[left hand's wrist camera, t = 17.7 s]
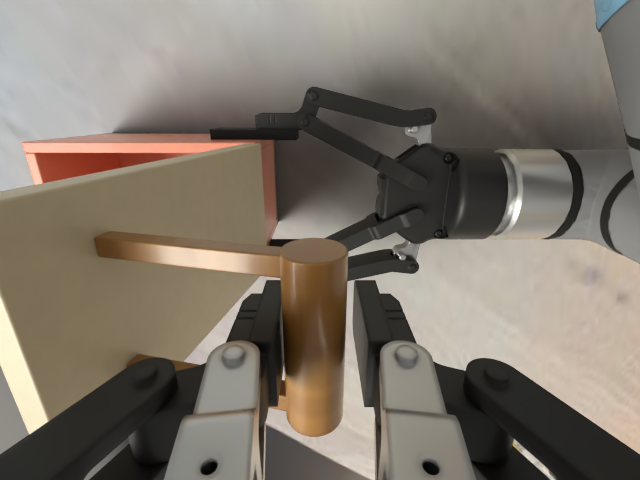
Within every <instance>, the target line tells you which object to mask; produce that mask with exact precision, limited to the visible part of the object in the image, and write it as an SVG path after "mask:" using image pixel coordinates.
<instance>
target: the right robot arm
mask: <svg viewBox="0 0 640 480" xmlns="http://www.w3.org/2000/svg"><path fill="white" fill-rule="evenodd" d="M594 3H595V11H596V18H597V20H596V28H597V30H598V31H599V32H600V31H601V34H602V38H603V42H604V47H605V51H606V55H607V59H608V63H609V67H610V71H611V75H612V79H613V83H614V87H615V91H616V95H617V99H618V103H619V107H620V111H621V115H622V119H623V123H624V127H625V129H624V131H625V135H626V139H627V145H628V149H585V150H559V149H499V150H496V151H493V150H491V149H442V148H438V147H437V146H435V145H433V144H431V124H432V123H433V122H434V121H435V120H436V116H437V115H436V111H435V110H434V109H432V108H417V109H409V110H401V109H398V108H394V107H390V106H386V105H382V104H379V103H375V102H371V101H367V100H363V99H359V98H356V97H352V96H348V95H344V94H340V93H337V92H333V91H329V90H325V89H321V88H317V87H311V88H309V89H308V90H307V92H306V95H305V99H304V102H303V105H302V107H301V109H300V110H299V111H298V112H296V113H261V114H258V115H256V116H255V120H256V128H216V129H210V137H211V140H297V139H298V138H299V133H298V130H304V131H306V132H307V133H309V134H311V135H313V136H315V137H317V138H319V139H321V140H322V141H324V142H326V143H328V144H330V145H332V146H334V147H336V148H337V149H339V150H341V151H343V152H345V153H347V154H349V155H351V156H352V157H354V158H356V159H358V160H360V161H362V162H364V163H366V164H367V165H369V166H371V167H373V168H374V169H376V170H378V171H380V174H378V177H377V185H378V190H379V194H378V197H377V200H376V212H374V213H372V214H370V215H368V216H367V217H366V218H365V219H364V220H362V221H360V222H358V223H355V224H353V225H351V226H349V227H347V228H345V229H343V230H341V231H339V232H337V233H335V234H332V235H330V236H328V237H326V238H324V239H330V240H334V241H337V242H339V243H342V244H343V245H344V246H346V248H347V250H348V251H351V250H353V249H355V248H357V247H359V246H361V245H363V244H366V243H368V242H370V241H372V240H375V239H377V240H378V239H382V238H384V237H386V236H388V235H390V234H392V233H395V232H396V233H398V234H399V235H400V236H402V237H403V238H405V239H406V241H405V242H404V243H403V244H399V245H395V246H394V247H393V249H384V250H378V251H374V252H369V253H364V254H360V255H355V256H350V257H348V273H347V281H350V280H355V279H360V278H364V277H369V276H374V275H379V274H383V273H388V272H400V273H410V274H412V273H415V272H417V271H418V269H419V265H418V263H417V261H416V258H417V254H418V249H419V245H420V244H421V243H424V242H426V241H428V240H431V239H485V238H487V237H490V238H492V239H582V240H588V241H592V242H595V243H597V244H600V245H602V246H604V247H606V248H608V249H610V250H612V251H614V252H616V253H618V254H621V255H623V256H625V257H627V258H629V259H631V260H633V261H635V262H637V263H639V264H640V0H594ZM319 107H322V108H326V109H330V110H334V111H338V112H342V113H346V114H350V115H353V116H357V117H361V118H365V119H369V120H373V121H377V122H381V123H385V124H388V125H394V126H399V127H402V131H403V133H404V134H405V135H406V136H409V137H413V138H414V139H415V141H416V144H415V145H414V146H412V147H411V148H409V149H408V150H407V151H405V152H404V153H402V154H401V155H399V156H398V157H396V158H395V159H394V160H393V159H392V158H390V157H388V156H386V155H384V154H382V153H381V152H379V151H377V150H375V149H373V148H371V147H369V146H367V145H366V144H364V143H362V142H360V141H358V140H356V139H355V138H353V137H351V136H349V135H347V134H345V133H344V132H342V131H340V130H338V129H336V128H334V127H333V126H331V125H329V124H327V123H325V122H323V121H322V120H320V119H318V118H316V114H317V111H318V108H319ZM294 240H299V239H271V242H270V244H269V246H276V247H282V246H283V245H285V244H287V243H289V242H291V241H294Z"/></svg>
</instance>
